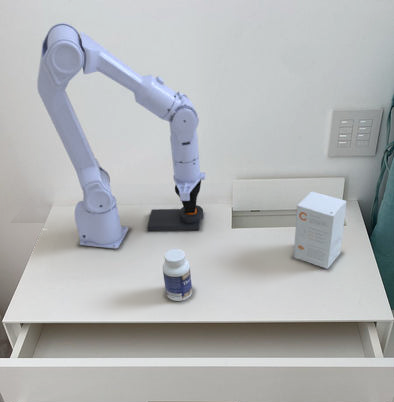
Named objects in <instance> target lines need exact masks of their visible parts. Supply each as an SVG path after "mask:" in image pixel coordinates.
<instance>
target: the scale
mask: <svg viewBox="0 0 394 402" xmlns="http://www.w3.org/2000/svg"><path fill="white" fill-rule="evenodd" d="M196 209H197V213H196V214H194V215H187V214H186V212H185V209H184V207H183V206H182V207H180V208H158V209H157V208H156V209H155V208H154V209H151V211H150V214H149V218H148V222H147V231H148V232H177V231H178V232H179V231H180V232H181V231H182V232H183V231H185V232H186V231H187V232H188V231H193V232H194V231H200V229H201V221H202V220H203V219H204V209H203V207H201V205H198V204H196Z"/></svg>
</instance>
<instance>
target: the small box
mask: <svg viewBox="0 0 394 402" xmlns="http://www.w3.org/2000/svg"><path fill="white" fill-rule="evenodd" d="M347 202H348V201H347V200H344V199H342V198H341V199H340V198H337V197H334V196H330V195H327V194H322V193H320V192H317V191H316V192H315V191H312V190H311V191H310V192H309V193H307V195H306V196H305V197H304V198H303V199H302V200H301V201H300V202H299V203H297V204H296V217H295V233H294V249H293V258H294V259H296V260H299V261H303V262H306V263H309V264H311V265H315V266H318V267H321V268H323V269H326V270H327V269H329V268H330V266H331V265H332V264H333V263H334V262H335V261H336V259H337V258H338V257H339V255H341V250H342V244H343V235H344V234H343V233H344V228H345V218H346V212H347Z"/></svg>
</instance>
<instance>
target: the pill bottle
mask: <svg viewBox="0 0 394 402" xmlns="http://www.w3.org/2000/svg"><path fill="white" fill-rule="evenodd" d="M162 274H163V282H164V289H165V294H166V297H167V298H168V299H170V300H172V301H175V302H180V301H182V302H183V301H185V300H187V299H189V298H190V297H191V295H192V293H193V286H192V275H191V266H190V262H189V261H188V260H187V259H186V253H185V252H184V250H182V249H179V248H173V249H169V250H167V251H166V252H165V253H164V263H162Z"/></svg>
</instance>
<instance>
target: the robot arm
mask: <svg viewBox="0 0 394 402" xmlns="http://www.w3.org/2000/svg"><path fill="white" fill-rule="evenodd" d="M39 59H40V60H39V67H38V73H37V81H36V83H37V88H36V89H37V92H38V93H37V94H38V95H39V98H40V99H41V101H42V103H43V105H44V107H45V109H46V112H47V113H48V115H49V117H50V120H51V122H52V124H53V127H54V128H55V130H56V132H57V135H58V137H59V139H60V142H61V144H62V146H63V147H64V149H65V151H66V153H67V155H68V157H69V159H70V161H71V164H72V166H73V168H74V170H75V172H76V176H77V179H78V182H79V185H80V187H81V190H82V194H83V198H82V200H80V201H78V202H77V203H76V205H75V208H74V222H75V226H76V229H77V233H78V236H79V240H80V241H79V245H80V246H86V247H87V246H88V247H95V248H96V247H97V248H105V249H115V250H116V249H118V248H119V247H120V246H121V244H122V242H123V240H124V238H125V236H126V235H127V233H128V232H129V227H128V226H122V224H121V219H120V213H119V209H118V208H119V207H118V203H117V199H116V197H115V196H114V195H113V193H112V187H111V178H110V177H111V176H110V174H109V173H108V171H106V170H105V169H104V168H103V167H102V166H101V164H100V163H99V160H98V159H97V157H95V155H94V151H93V150H92V148H91V145H90V143H89V141H88V138H87V136H86V134H85V132H84V130H83V127H82V125H81V122H80V120H79V118H78V115H77V113H76V111H75V109H74V107H73V105H72V102H71V100H70V97H69V95H68V93H67V91H66V89H67V87H68V86H69V83H70V81H72V79H74V78H75V76H77V75H78V74H79V73H80V71H81V70H82V73H83V75H89V74H92V73H97V72H99V73H100V74H102V75H104V76H106V77H107V78H109V79H111V80H112V81H114V82H116V83H117V84H119V85H120V86H122V87H124V88H125V89H126V90H129V91H130V92H132V93H133V96H134V100H135V102H136V103H137V104H139V106H141V107H143V108H144V109H146V110H147V111H149V112H150V113H152V114H153V115H155V116H156V117H158V118H159V119H161V120H163V121H166V122H169V131H170V135H169V139H170V150H171V158H172V167H173V168H172V169H173V181H174V184H175V185H174V191H175V194H176V195H177V196H178V198H179V201H180V202H181V204H182V207H184V209H185V212H186V213H195V209H196V205H197V202H198V201H197V200H198V196H199V193H200V191H201V185H202V181H204V180H206V177H207V174H206V172H201V167H200V166H201V165H200V151H199V142H198V141H199V140H198V134H197V128H198V126H199V123H200V118H199V117H198V113H197V111H196V109H195V106H194V104H193V102H192V100H190V98H189V97H188V96H187V95H186V94H184V93H182V92H180V91H177V92H176V91H175V90H173V89H172V88H170V87H169V86H168V85H166V84H165V81H164V79H163V77H161V76H159V75H157V76H156V77H155V76H154V75H152V74H148V75H141V74H139V73H138V72H137V71H135V70H134V69H133V68H132V67H130V66H129V65H128V64H126V63H125V62H123V61H122V60H121V59H120V58H118V57H117V56H116V55H114V54H113V53H112V52H110V50H108V49H106V48H105V47H104V46H103V45H101V44H100V43H98V42H97V41H96V40H94V39H93V38H92V37H91V36H89V35H88V34H86V33H85V32H83V31H78V30H77V29H76V28H75V27H74V26H73V25H71V24H69V23H65V22H59V23H56V24H54V25H52V26H51V27H50V28H49V30H48V31H47V34H46V35H45V37H44V39H43V41H42V43H41V53H40V58H39Z"/></svg>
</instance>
